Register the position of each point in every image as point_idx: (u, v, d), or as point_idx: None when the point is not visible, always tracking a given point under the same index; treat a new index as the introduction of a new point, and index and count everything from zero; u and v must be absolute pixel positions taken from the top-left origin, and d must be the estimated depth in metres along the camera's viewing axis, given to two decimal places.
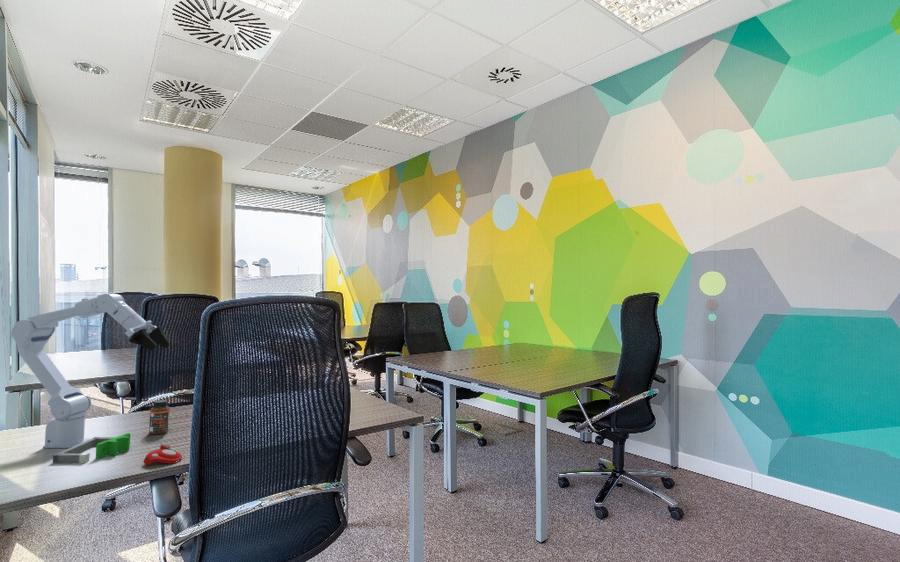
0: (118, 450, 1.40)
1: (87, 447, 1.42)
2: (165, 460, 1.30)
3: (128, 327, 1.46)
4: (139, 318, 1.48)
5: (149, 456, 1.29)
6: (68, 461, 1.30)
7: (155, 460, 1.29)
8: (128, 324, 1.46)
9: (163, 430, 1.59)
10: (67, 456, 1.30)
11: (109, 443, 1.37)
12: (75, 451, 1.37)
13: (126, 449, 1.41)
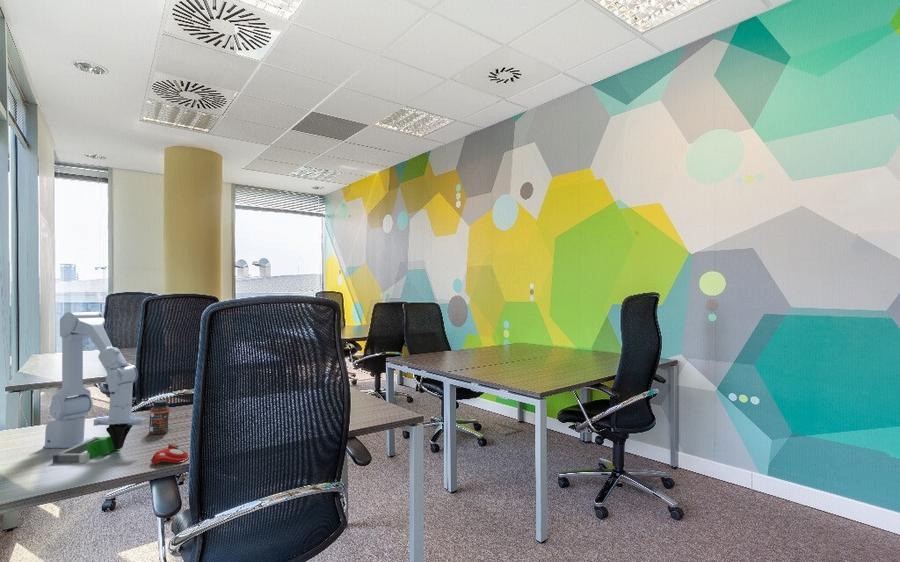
0: (110, 449, 1.40)
1: None
2: (172, 460, 1.30)
3: None
4: (112, 413, 1.37)
5: (156, 455, 1.30)
6: (68, 461, 1.30)
7: (162, 459, 1.29)
8: None
9: (163, 430, 1.59)
10: (67, 456, 1.30)
11: (100, 442, 1.37)
12: (75, 451, 1.37)
13: None
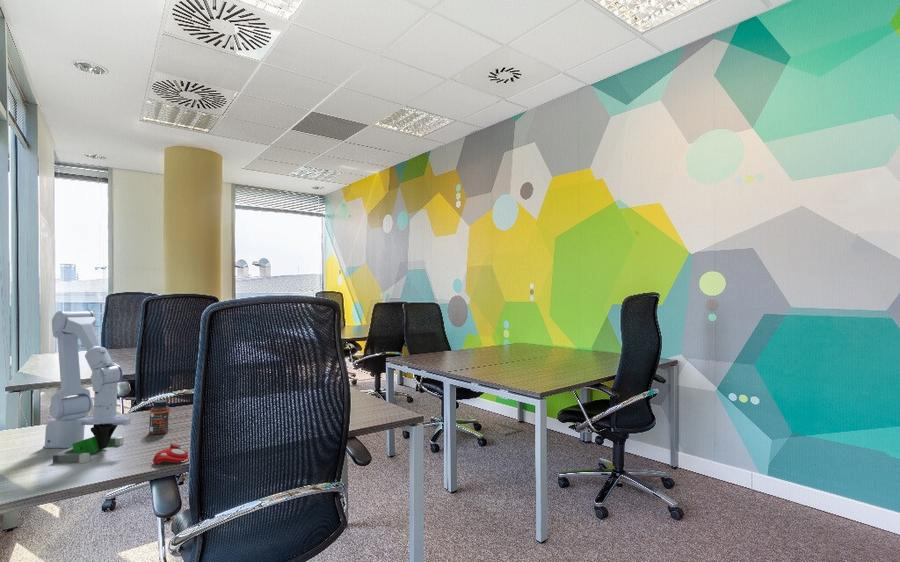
0: (97, 447, 1.40)
1: None
2: (173, 460, 1.30)
3: None
4: (96, 412, 1.37)
5: (158, 455, 1.30)
6: (68, 461, 1.30)
7: (164, 459, 1.29)
8: None
9: (163, 430, 1.59)
10: (67, 456, 1.30)
11: (85, 441, 1.37)
12: None
13: None
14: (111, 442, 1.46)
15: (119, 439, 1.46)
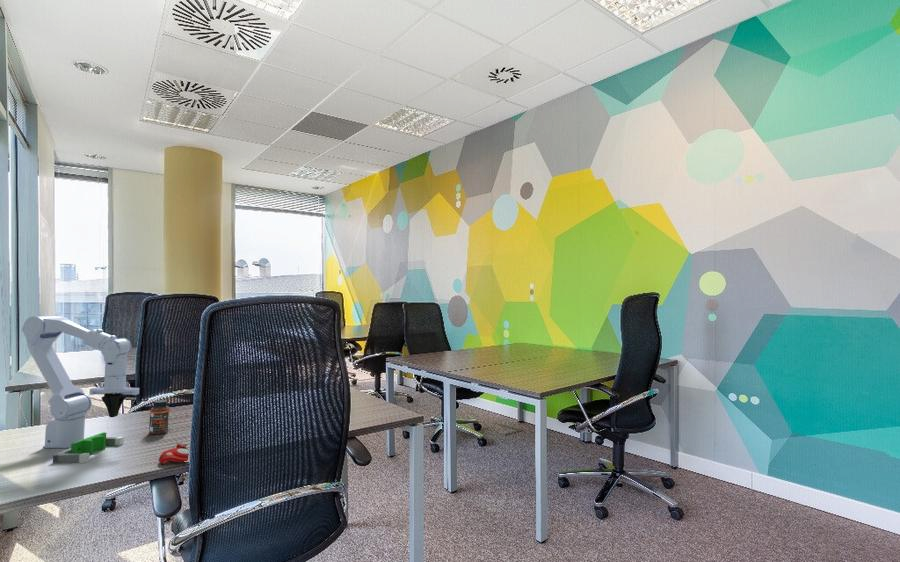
0: (94, 449, 1.40)
1: None
2: (179, 459, 1.31)
3: None
4: (107, 382, 1.44)
5: (164, 455, 1.31)
6: (68, 461, 1.30)
7: (169, 459, 1.30)
8: None
9: (163, 430, 1.59)
10: (67, 456, 1.30)
11: (84, 442, 1.37)
12: None
13: (102, 448, 1.41)
14: (111, 442, 1.46)
15: (119, 439, 1.46)
